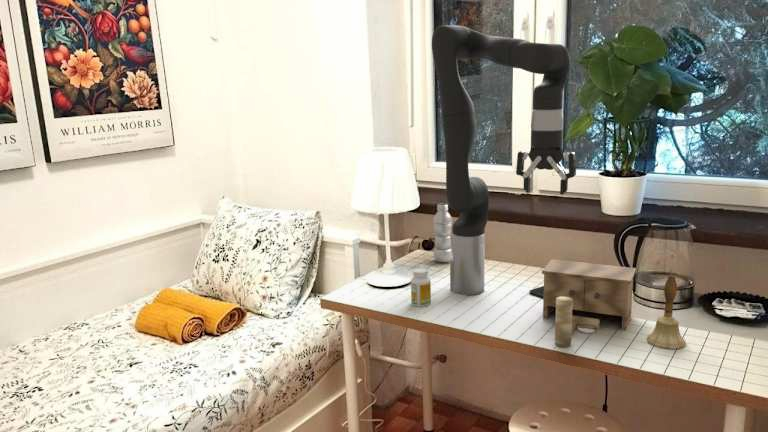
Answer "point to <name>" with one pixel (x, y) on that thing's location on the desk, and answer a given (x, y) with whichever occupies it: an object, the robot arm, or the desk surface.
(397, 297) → the desk surface
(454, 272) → the robot arm
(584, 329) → the token
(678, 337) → the hand bell
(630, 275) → the cabinet
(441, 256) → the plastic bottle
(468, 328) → the desk surface
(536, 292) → the phone
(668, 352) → the desk surface
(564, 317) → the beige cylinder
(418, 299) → the supplement bottle
